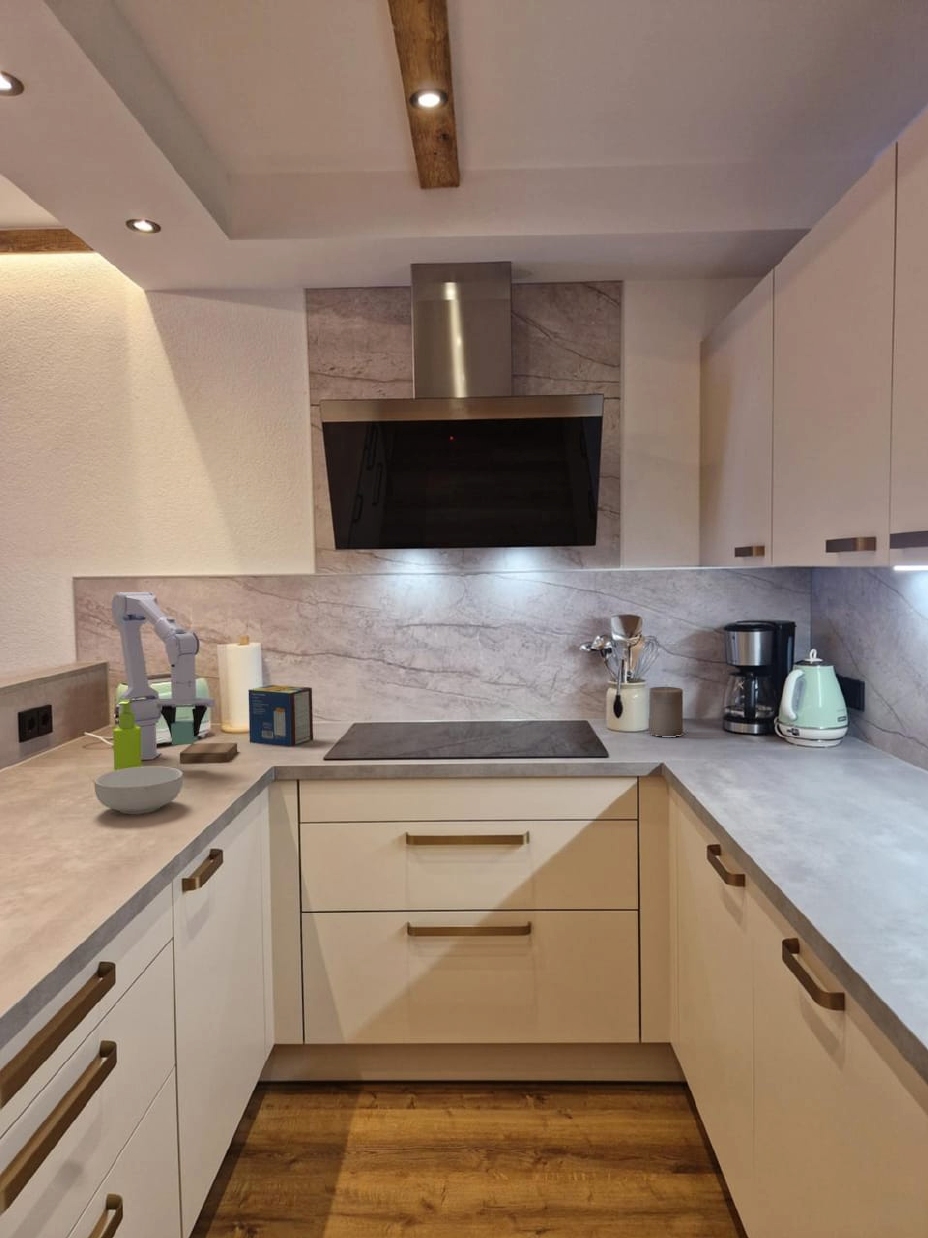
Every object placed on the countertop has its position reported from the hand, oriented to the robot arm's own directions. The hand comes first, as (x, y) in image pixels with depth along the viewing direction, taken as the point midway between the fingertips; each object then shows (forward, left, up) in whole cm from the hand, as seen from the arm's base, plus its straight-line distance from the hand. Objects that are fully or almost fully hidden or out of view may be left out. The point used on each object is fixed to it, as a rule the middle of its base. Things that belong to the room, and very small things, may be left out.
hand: (184, 736), depth 199 cm
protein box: (+19, +32, -9) cm, 38 cm away
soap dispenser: (-9, -14, -9) cm, 19 cm away
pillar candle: (+132, +28, -9) cm, 135 cm away
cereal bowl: (0, -34, -9) cm, 35 cm away
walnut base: (+3, +13, -9) cm, 16 cm away
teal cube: (0, 0, -2) cm, 2 cm away
